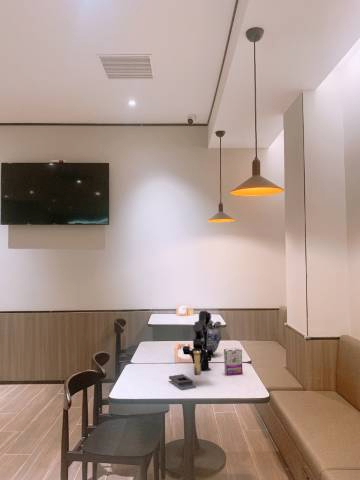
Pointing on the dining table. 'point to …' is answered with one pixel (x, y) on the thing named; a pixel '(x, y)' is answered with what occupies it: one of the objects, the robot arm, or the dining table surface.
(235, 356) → the candy bar box
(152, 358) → the dining table surface
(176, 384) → the grey rectangular frame
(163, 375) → the dining table surface
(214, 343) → the decorative vase
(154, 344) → the dining table surface
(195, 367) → the brass pin
